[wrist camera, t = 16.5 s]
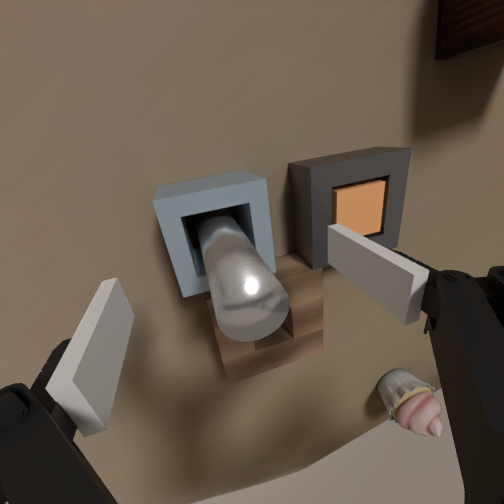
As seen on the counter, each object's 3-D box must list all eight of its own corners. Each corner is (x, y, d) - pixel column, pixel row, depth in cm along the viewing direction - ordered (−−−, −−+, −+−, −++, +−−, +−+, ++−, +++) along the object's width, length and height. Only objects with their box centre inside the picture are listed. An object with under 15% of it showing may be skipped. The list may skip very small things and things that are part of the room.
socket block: (306, 326, 34) (323, 351, 30) (222, 353, 32) (228, 383, 28) (302, 250, 29) (322, 267, 25) (201, 276, 27) (205, 300, 23)
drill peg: (232, 231, 26) (291, 328, 12) (199, 239, 25) (224, 350, 12) (226, 199, 24) (286, 270, 11) (191, 206, 23) (208, 291, 10)
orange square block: (357, 221, 28) (380, 231, 25) (318, 230, 27) (336, 242, 24) (360, 176, 26) (385, 181, 23) (317, 185, 25) (337, 191, 22)
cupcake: (372, 370, 43) (422, 428, 34) (416, 356, 45) (473, 408, 36) (365, 403, 47) (408, 463, 38) (406, 389, 49) (455, 443, 40)
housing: (368, 233, 30) (397, 247, 27) (294, 252, 29) (313, 270, 25) (375, 146, 26) (411, 147, 22) (288, 163, 24) (310, 167, 20)
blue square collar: (256, 246, 27) (276, 272, 22) (182, 265, 26) (183, 297, 20) (245, 169, 23) (265, 178, 18) (158, 186, 22) (151, 200, 17)
